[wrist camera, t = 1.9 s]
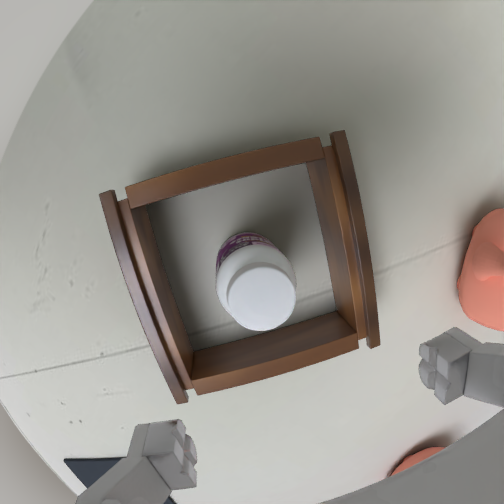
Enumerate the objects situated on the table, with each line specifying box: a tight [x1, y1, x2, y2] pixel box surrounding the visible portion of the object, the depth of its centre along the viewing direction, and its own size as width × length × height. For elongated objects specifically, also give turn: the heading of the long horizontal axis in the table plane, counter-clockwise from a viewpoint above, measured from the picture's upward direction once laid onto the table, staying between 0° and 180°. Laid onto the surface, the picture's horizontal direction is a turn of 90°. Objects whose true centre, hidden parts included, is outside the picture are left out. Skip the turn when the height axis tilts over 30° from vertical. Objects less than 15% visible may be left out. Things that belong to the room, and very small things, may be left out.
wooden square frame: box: [99, 130, 380, 404], centre depth 25 cm, size 17×18×6 cm
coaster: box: [64, 457, 175, 504], centre depth 32 cm, size 12×12×1 cm
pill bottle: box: [216, 232, 296, 331], centre depth 23 cm, size 5×5×10 cm
